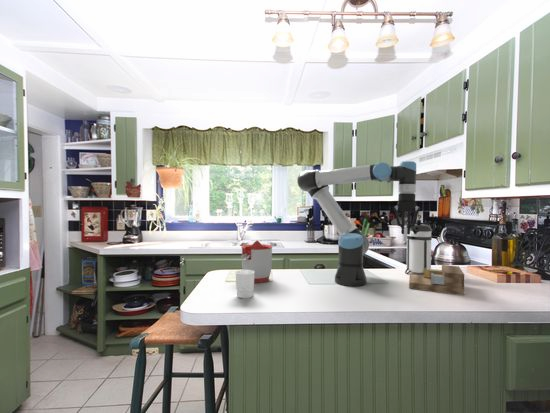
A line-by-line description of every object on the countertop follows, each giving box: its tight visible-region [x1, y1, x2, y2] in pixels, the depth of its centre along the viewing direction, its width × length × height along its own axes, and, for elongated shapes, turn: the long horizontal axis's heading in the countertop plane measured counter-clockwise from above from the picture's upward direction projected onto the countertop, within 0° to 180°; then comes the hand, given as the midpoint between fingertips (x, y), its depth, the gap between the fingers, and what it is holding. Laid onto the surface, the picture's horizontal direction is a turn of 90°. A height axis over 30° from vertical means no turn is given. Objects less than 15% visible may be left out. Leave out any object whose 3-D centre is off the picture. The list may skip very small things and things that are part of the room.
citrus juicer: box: [240, 240, 273, 284], centre depth 140 cm, size 16×17×20 cm
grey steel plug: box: [431, 273, 445, 285], centre depth 123 cm, size 11×4×4 cm, turn 63°
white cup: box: [235, 269, 255, 299], centre depth 116 cm, size 8×8×10 cm
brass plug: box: [422, 268, 443, 278], centre depth 134 cm, size 11×4×4 cm, turn 63°
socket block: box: [408, 264, 465, 296], centre depth 130 cm, size 21×17×9 cm
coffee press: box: [404, 219, 433, 275], centre depth 156 cm, size 17×16×30 cm
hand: (405, 240), depth 138 cm, fingers closed
